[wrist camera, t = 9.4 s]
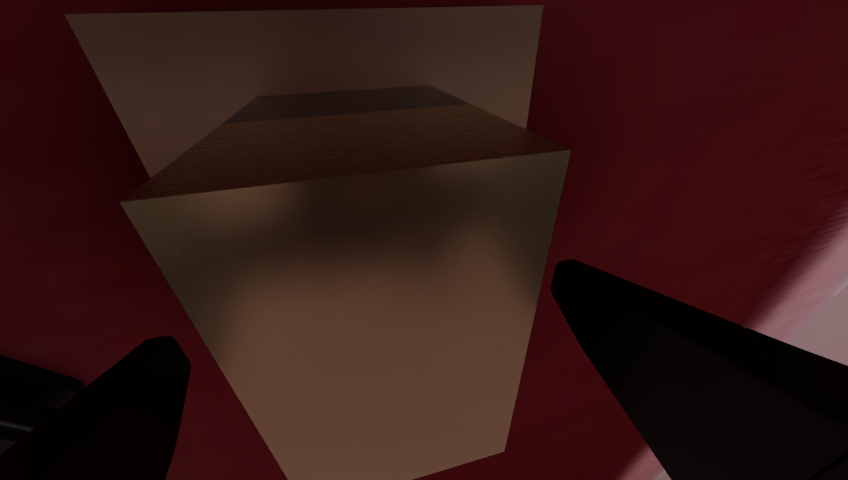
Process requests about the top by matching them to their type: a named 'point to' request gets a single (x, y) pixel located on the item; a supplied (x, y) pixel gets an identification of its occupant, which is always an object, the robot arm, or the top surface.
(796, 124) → the top surface
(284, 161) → the block
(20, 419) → the end cap
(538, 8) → the walnut stand
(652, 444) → the robot arm
